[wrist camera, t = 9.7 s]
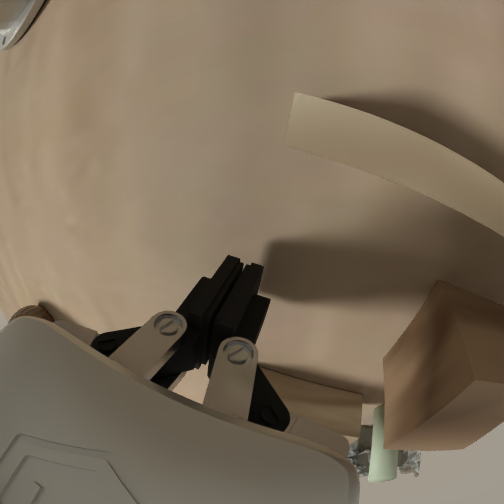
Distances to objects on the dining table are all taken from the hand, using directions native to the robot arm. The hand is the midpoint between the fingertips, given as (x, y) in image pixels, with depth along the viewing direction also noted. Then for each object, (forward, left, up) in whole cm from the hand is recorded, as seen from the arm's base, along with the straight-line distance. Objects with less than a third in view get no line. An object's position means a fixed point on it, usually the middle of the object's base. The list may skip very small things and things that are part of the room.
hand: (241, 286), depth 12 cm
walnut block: (0, +12, -1) cm, 12 cm away
